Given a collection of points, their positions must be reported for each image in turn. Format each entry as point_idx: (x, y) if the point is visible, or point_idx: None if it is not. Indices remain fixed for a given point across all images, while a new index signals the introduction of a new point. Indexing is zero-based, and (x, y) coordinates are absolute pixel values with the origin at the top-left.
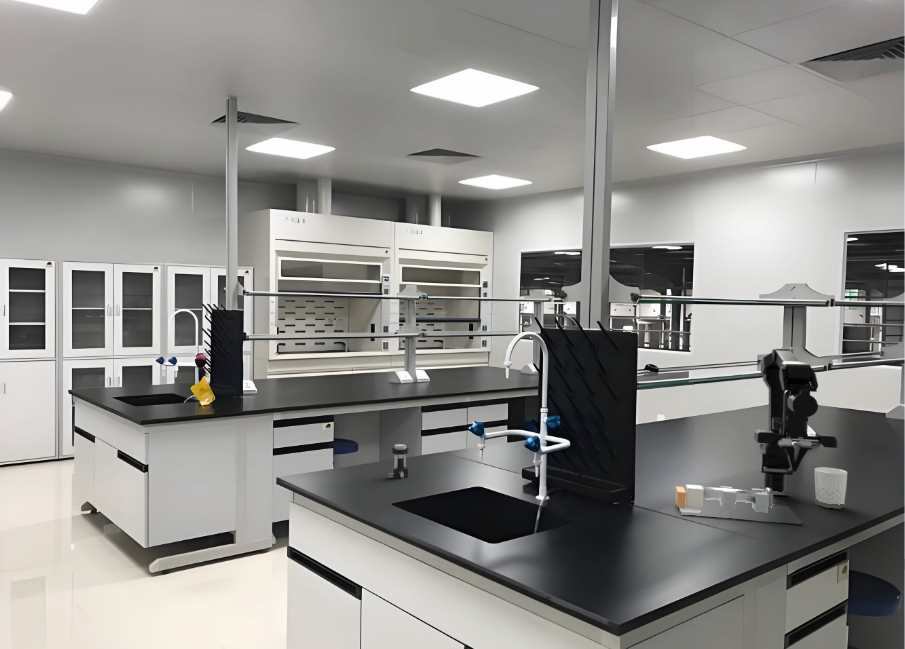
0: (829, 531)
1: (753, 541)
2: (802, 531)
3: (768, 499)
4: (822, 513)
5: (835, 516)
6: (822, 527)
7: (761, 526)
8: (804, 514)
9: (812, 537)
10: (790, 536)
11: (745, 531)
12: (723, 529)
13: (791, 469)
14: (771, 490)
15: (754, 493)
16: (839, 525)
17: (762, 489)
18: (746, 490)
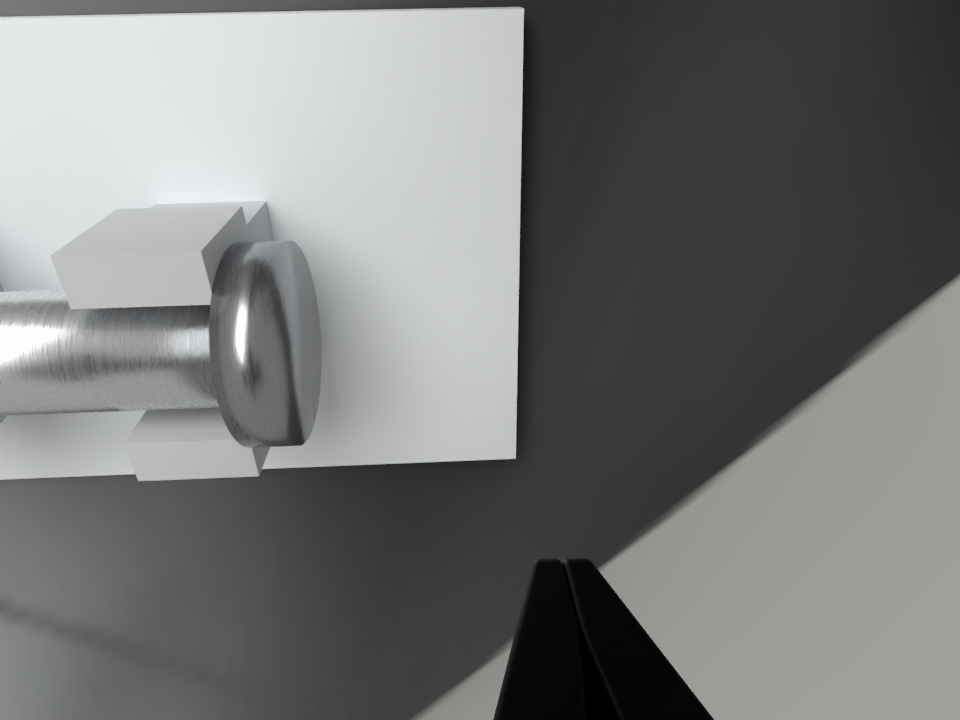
0: (643, 499)
1: (215, 713)
2: (480, 541)
3: (266, 447)
4: (829, 48)
5: (898, 123)
6: (634, 442)
7: (253, 528)
8: (632, 146)
9: (506, 606)
10: (395, 622)
11: (169, 620)
12: (52, 624)
13: (530, 573)
14: (277, 438)
15: (115, 409)
16: (778, 368)
17: (186, 271)
18: (13, 394)
